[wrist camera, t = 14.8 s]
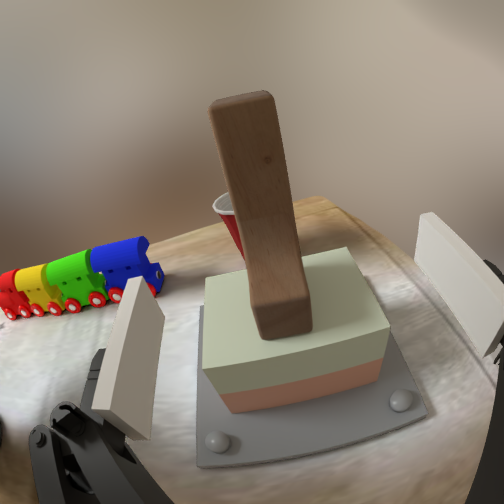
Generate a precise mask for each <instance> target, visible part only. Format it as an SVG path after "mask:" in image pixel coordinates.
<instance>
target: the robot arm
mask: <svg viewBox="0 0 504 504" xmlns="http://www.w3.org/2000/svg"><path fill="white" fill-rule="evenodd" d="M414 261H415V262H416V263H417V265H418V266H419V267H420V269H421V270H422V271H423V272H424V274H425V275H426V276H427V278H428V279H429V280H430V282H431V283H432V284H433V286H434V287H435V288H436V290H437V291H438V293H439V294H440V295H441V297H442V298H443V300H444V301H445V302H446V304H447V305H448V307H449V308H450V310H451V311H452V312H453V314H454V315H455V317H456V318H457V320H458V321H459V323H460V324H461V326H462V327H463V329H464V330H465V332H466V334H467V335H468V337H469V338H470V340H471V341H472V343H473V345H474V346H475V348H476V350H477V351H478V353H479V355H480V356H481V358H484V357H485V356H487V355H489V354H491V353H492V352H494V351H495V349H496V348H497V346H498V344H499V343H501V345H502V346H503V348H502V349H501V351H500V353H499V354H498V355H497V357H496V358H495V360H494V363H493V364H496V363H497V361H498V360H499V358H500V363H499V364H498V365H499V373H498V381H497V388H496V395H495V401H494V406H493V412H492V417H491V421H490V426H489V430H488V434H487V438H486V442H485V446H484V450H483V453H482V457H481V460H480V463H479V466H478V469H477V472H476V475H475V478H474V481H473V484H472V486H471V489H470V492H469V494H468V497H467V499H466V502H465V504H504V275H502V272H501V271H500V270H499V269H498V268H497V267H496V266H495V265H494V264H492V263H491V262H489V261H487V260H483V261H482V260H481V258H480V257H479V256H478V255H477V254H476V253H475V252H474V251H473V250H472V249H471V248H470V247H469V246H468V245H467V244H466V243H465V242H464V241H463V240H462V239H461V238H460V237H459V236H458V235H457V234H456V233H454V231H453V230H451V228H449V227H448V226H447V225H446V224H445V223H444V222H443V221H442V220H441V219H440V218H439V217H438V216H436V215H435V214H434V213H433V212H429V213H425V214H421V215H420V221H419V231H418V238H417V245H416V252H415V259H414ZM164 320H165V316H164V314H163V312H162V311H161V309H160V307H159V305H158V304H157V302H156V300H155V298H154V296H153V295H152V293H151V291H150V289H149V287H148V285H147V283H146V281H145V280H144V278H143V276H139V277H135V278H130V279H128V281H127V284H126V287H125V290H124V292H123V295H122V298H121V301H120V304H119V308H118V311H117V314H116V317H115V320H114V323H113V327H112V330H111V333H110V337H109V340H108V344H107V347H106V348H105V349H99V350H98V352H97V353H96V355H95V356H94V358H93V359H92V363H91V366H90V372H89V373H88V377H87V379H88V380H87V381H86V385H85V389H84V392H83V397H82V401H81V405H80V409H79V408H78V407H76V406H75V405H74V404H73V403H70V402H62V403H60V404H58V405H57V406H56V407H55V408H54V409H53V411H52V413H51V417H50V425H51V427H52V428H53V429H54V430H51V429H49V428H48V427H47V426H44V425H38V426H36V427H35V428H34V429H33V430H32V431H31V433H30V436H29V448H30V456H31V463H32V469H33V475H34V480H35V485H36V490H37V495H38V499H39V503H40V504H174V503H173V502H172V501H171V499H170V498H169V497H168V496H167V495H166V494H165V492H164V491H163V490H162V489H161V488H160V487H159V485H158V484H157V483H156V482H155V480H154V479H153V478H152V477H151V475H150V474H149V473H148V471H147V470H146V469H145V468H144V466H143V465H142V464H141V462H140V461H139V460H138V458H137V457H136V455H135V454H134V453H133V451H132V450H131V448H130V447H129V445H128V444H127V443H126V442H125V435H126V436H128V437H129V438H131V439H132V440H150V437H151V424H152V414H153V403H154V394H155V385H156V377H157V369H158V361H159V354H160V347H161V340H162V333H163V327H164ZM1 435H2V432H1V423H0V445H1Z"/></svg>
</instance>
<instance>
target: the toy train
mask: <svg viewBox="0 0 504 504" xmlns="http://www.w3.org/2000/svg"><path fill="white" fill-rule="evenodd" d="M148 246H149V242H148V240H147V239H146V238H145V237H144V236H140V237H136V238H132V239H128V240H123V241H119V242H115V243H111V244H107V245H102V246H98V247H95V248H93V250H91V249H88V250H85V251H82V252H79V253H76V254H73V255H70V256H67V257H65V258H62V259H59V260H56V261H53V262H51V263H48V264H43V265H38V266H34V267H30V268H26V269H15V270H12V271H9V272H7V273H4V274H2V275H1V276H0V307H1V309H2V310H3V311H4V312H5V315H6V316H7V317H8V318H9V319H10V320H15V319H16V317H17V316H16V315H21V316H23V317H25V318H29V317H30V316H31V313H32V312H33V313H34V314H35V315H37V316H39V317H42V316H43V315H44V312H45V311H49V312H50V313H51V314H53V315H55V316H59V315H61V313H62V310H65V308H66V309H67V310H68V311H69V312H71V313H78V312H80V310H81V306H84V305H88V304H91V305H92V306H94V307H102V306H104V305H105V303H106V300H108V299H109V298H110V299H111V300H112V301H113V302H115V303H120V301H121V298H122V295H123V292H124V290H125V287H126V284H127V281H128V279H130V278H135V277H139V276H143V278H144V280H145V281H146V283H147V285H148V287H149V289H150V291H151V293H152V295H153V296H154V297H155V295H156V292H160V289H161V286H162V282H163V279H164V276H165V275H164V273H163V271H162V269H161V267H160V264H159V262H158V263H150V262H149V260H148V258H147V256H146V254H145V253H146V251H147V249H148ZM99 272H102V274H99Z"/></svg>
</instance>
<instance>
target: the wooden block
mask: <svg viewBox="0 0 504 504" xmlns="http://www.w3.org/2000/svg"><path fill="white" fill-rule="evenodd" d="M208 115H209V120H210V123H211V127H212V131H213V135H214V139H215V143H216V147H217V150H218V154H219V158H220V162H221V166H222V170H223V173H224V177H225V181H226V185H227V189H228V192H229V196H230V200H231V204H232V207H233V211H234V215H235V219H236V223H237V226H238V230H239V234H240V239H241V243H242V247H243V252H244V257H245V263H246V269H247V275H248V281H249V293H250V305H251V309H252V312H253V316H254V319H255V322H256V326H257V329H258V332H259V336H260V337H261V339H262V340H269V339H275V338H281V337H287V336H292V335H298V334H303V333H308V332H311V331H312V329H313V320H312V309H311V299H310V292H309V288H308V284H307V280H306V276H305V272H304V267H303V262H302V257H301V252H300V247H299V241H298V235H297V229H296V223H295V217H294V210H293V203H292V197H291V191H290V185H289V178H288V172H287V166H286V160H285V154H284V149H283V143H282V138H281V133H280V127H279V122H278V116H277V111H276V106H275V101H274V98H273V96H272V95H271V94H270V93H269V92H267V91H264V90H262V91H256V92H251V93H246V94H241V95H236V96H232V97H227V98H223V99H218V100H216V101H214V102H213V103H212V104H211V105H210V106H209V108H208Z"/></svg>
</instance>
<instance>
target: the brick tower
mask: <svg viewBox="0 0 504 504" xmlns="http://www.w3.org/2000/svg"><path fill="white" fill-rule="evenodd" d="M302 262H303V267H304V272H305V276H306V280H307V284H308V288H309V292H310V299H311V309H312V320H313V329H312V331H311V332H308V333H303V334H298V335H292V336H287V337H281V338H275V339H269V340H262V339H261V337H260V336H259V332H258V329H257V326H256V322H255V319H254V316H253V312H252V309H251V305H250V293H249V281H248V275H247V269H244V270H240V271H235V272H230V273H226V274H221V275H216V276H211V277H207V278H205V297H204V305H203V306H200V319H199V341H198V368H197V422H196V445H197V466H198V467H199V468H219V467H232V466H243V465H252V464H260V463H267V462H274V461H280V460H286V459H291V458H297V457H302V456H307V455H311V454H316V453H320V452H324V451H328V450H332V449H336V448H340V447H344V446H347V445H351V444H354V443H358V442H361V441H364V440H367V439H370V438H373V437H376V436H379V435H382V434H385V433H388V432H391V431H393V430H396V429H399V428H401V427H404V426H406V425H409V424H411V423H414V422H416V421H418V420H421V419H423V418H425V417H426V416H427V414H428V412H427V409H426V407H425V404H424V402H423V400H422V397H421V395H420V393H419V391H418V388H417V386H416V384H415V382H414V379H413V377H412V375H411V373H410V371H409V368H408V366H407V364H406V362H405V360H404V358H403V356H402V354H401V352H400V350H399V348H398V345H397V343H396V341H395V339H394V337H393V335H392V333H391V331H390V328H391V326H390V324H389V322H388V320H387V318H386V316H385V314H384V313H383V311H382V309H381V307H380V305H379V303H378V301H377V300H376V298H375V296H374V294H373V292H372V291H371V289H370V287H369V285H368V283H367V282H366V280H365V278H364V276H363V275H362V273H361V271H360V269H359V268H358V266H357V264H356V263H355V261H354V259H353V258H352V256H351V254H350V252H349V251H348V249H347V248H346V247H343V248H339V249H334V250H330V251H326V252H321V253H317V254H312V255H308V256H303V257H302Z"/></svg>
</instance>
